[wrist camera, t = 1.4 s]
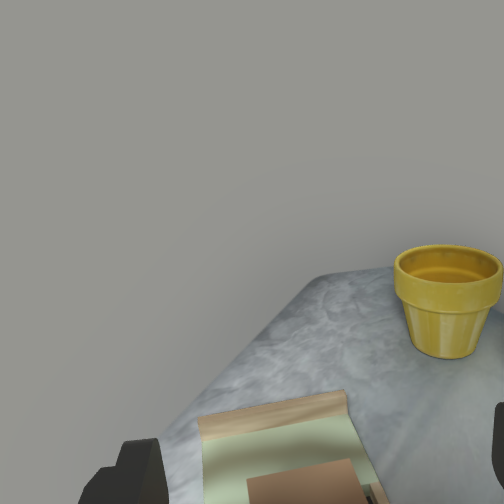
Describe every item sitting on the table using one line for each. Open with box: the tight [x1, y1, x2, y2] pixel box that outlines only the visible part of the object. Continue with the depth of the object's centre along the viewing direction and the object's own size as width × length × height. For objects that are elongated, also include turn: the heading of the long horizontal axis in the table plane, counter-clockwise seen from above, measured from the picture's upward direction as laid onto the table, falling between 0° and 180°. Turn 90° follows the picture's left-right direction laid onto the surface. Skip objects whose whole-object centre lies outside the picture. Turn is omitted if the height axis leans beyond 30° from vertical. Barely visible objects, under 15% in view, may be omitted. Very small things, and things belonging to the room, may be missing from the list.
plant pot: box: [394, 245, 504, 359], centre depth 48 cm, size 10×10×10 cm
